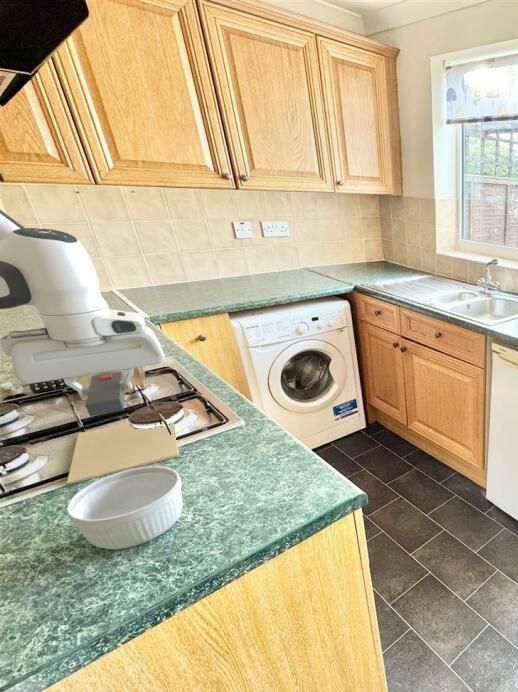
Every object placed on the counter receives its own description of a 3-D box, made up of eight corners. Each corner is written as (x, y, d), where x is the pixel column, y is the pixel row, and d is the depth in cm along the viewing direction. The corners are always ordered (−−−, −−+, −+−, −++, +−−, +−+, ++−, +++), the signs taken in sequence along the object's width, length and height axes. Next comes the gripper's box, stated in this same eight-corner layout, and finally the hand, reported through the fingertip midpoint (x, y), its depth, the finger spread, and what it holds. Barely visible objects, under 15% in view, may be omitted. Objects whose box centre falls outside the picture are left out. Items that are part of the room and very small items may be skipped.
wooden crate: (81, 400, 102) (62, 354, 97) (89, 371, 116) (72, 330, 111) (145, 389, 109) (130, 346, 104) (144, 363, 123) (131, 323, 118)
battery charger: (31, 395, 102) (10, 352, 98) (30, 390, 105) (10, 347, 100) (71, 388, 107) (53, 346, 102) (69, 383, 109) (52, 341, 105)
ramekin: (195, 489, 76) (185, 457, 73) (184, 539, 65) (172, 505, 62) (98, 510, 70) (83, 477, 67) (69, 569, 59) (50, 532, 56)
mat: (67, 484, 75) (66, 482, 75) (79, 435, 89) (78, 433, 89) (178, 456, 84) (178, 454, 84) (173, 415, 98) (172, 413, 98)
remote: (90, 416, 75) (84, 403, 74) (96, 386, 86) (91, 374, 85) (123, 410, 78) (118, 397, 77) (125, 381, 88) (121, 369, 87)
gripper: (-11, 338, 67) (27, 413, 73) (152, 321, 79) (173, 386, 85) (-1, 327, 72) (33, 399, 78) (151, 313, 84) (171, 376, 89)
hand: (107, 392), depth 81 cm, fingers closed on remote, 4 cm apart
